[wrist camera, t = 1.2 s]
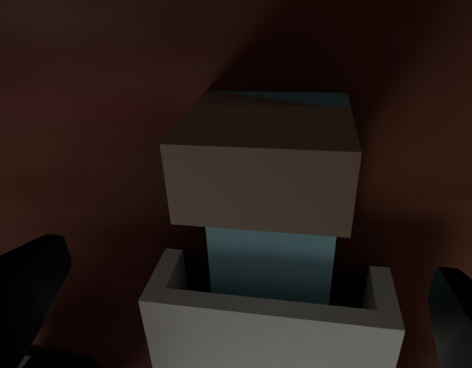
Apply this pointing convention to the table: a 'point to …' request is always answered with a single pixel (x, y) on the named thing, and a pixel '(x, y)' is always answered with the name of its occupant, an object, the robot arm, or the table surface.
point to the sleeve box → (266, 326)
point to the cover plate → (266, 188)
